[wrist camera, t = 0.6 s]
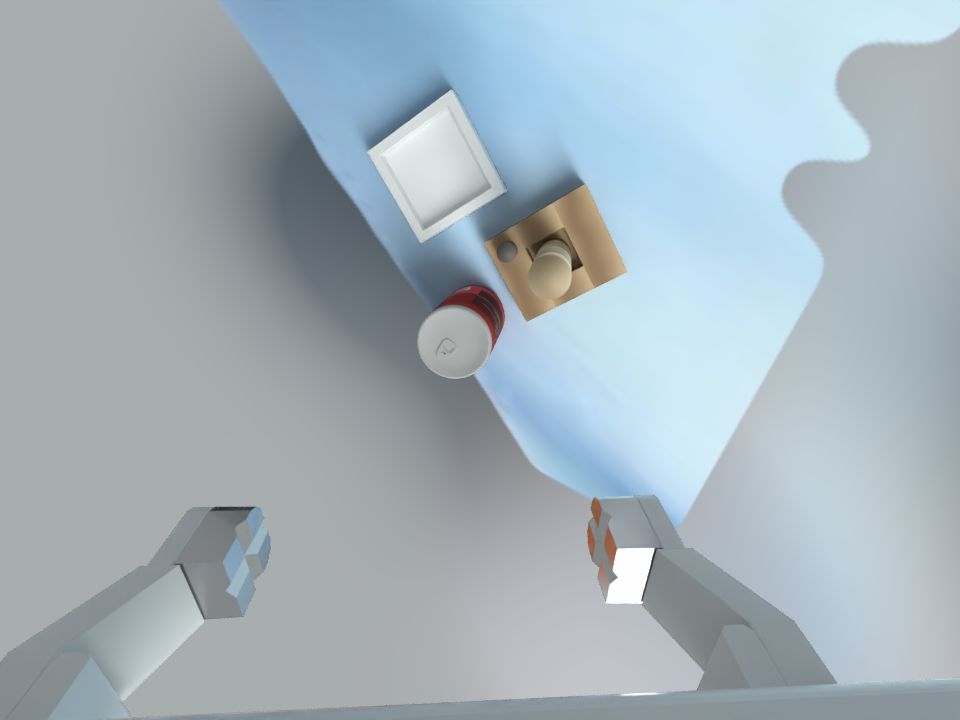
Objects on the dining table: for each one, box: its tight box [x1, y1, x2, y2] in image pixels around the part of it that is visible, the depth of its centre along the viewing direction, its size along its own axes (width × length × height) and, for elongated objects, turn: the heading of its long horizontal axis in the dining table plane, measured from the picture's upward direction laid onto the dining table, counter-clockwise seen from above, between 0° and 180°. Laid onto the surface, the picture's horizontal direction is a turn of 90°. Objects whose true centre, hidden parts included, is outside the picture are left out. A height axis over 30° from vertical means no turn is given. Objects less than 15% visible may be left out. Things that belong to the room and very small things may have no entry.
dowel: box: [527, 238, 572, 300], centre depth 43 cm, size 4×4×14 cm
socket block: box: [484, 184, 627, 322], centre depth 48 cm, size 12×10×5 cm
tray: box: [368, 89, 508, 243], centre depth 48 cm, size 11×11×2 cm
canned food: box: [417, 286, 505, 379], centre depth 49 cm, size 8×8×11 cm
